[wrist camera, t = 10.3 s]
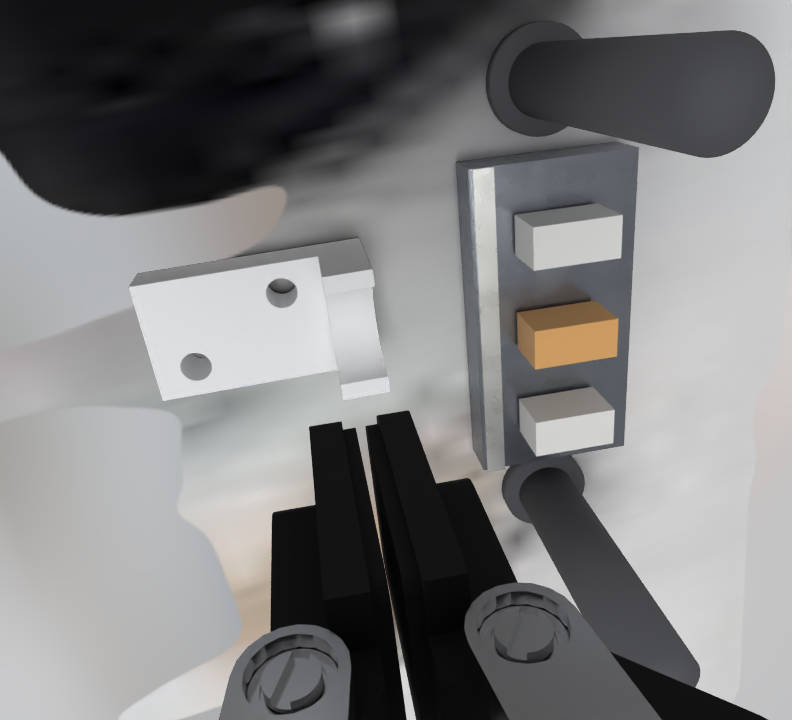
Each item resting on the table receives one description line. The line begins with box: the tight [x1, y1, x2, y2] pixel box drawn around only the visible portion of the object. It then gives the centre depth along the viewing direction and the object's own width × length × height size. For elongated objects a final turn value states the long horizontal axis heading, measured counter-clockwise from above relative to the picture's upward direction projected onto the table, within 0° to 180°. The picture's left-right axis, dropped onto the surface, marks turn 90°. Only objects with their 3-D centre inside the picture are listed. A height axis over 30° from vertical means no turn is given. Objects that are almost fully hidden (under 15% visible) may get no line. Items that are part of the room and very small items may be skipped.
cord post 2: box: [502, 455, 700, 688], centre depth 43 cm, size 6×6×18 cm
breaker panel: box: [456, 142, 639, 472], centre depth 44 cm, size 20×10×3 cm, turn 6°
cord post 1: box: [486, 21, 775, 158], centre depth 31 cm, size 6×6×18 cm
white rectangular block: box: [519, 387, 615, 457], centre depth 43 cm, size 2×5×3 cm, turn 96°
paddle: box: [514, 203, 623, 271], centre depth 38 cm, size 2×5×3 cm, turn 96°
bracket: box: [129, 238, 390, 401], centre depth 39 cm, size 13×7×8 cm, turn 97°
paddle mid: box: [517, 301, 618, 370], centre depth 41 cm, size 2×5×3 cm, turn 96°
